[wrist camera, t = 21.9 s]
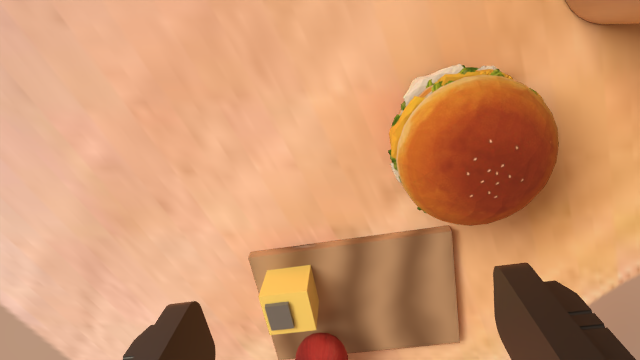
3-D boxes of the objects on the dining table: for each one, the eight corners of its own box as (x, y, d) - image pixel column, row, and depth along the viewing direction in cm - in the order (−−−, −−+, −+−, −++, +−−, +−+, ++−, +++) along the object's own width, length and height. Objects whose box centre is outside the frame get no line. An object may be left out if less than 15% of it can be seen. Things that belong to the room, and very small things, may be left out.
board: (448, 225, 40) (451, 231, 39) (458, 353, 46) (461, 361, 45) (250, 252, 43) (248, 258, 42) (285, 369, 49) (283, 377, 48)
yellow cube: (310, 264, 42) (306, 294, 37) (319, 301, 43) (316, 333, 39) (266, 270, 42) (257, 299, 37) (276, 306, 44) (269, 338, 39)
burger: (429, 220, 40) (455, 276, 31) (354, 119, 37) (358, 149, 27) (549, 147, 37) (619, 185, 27) (478, 28, 33) (531, 26, 24)
